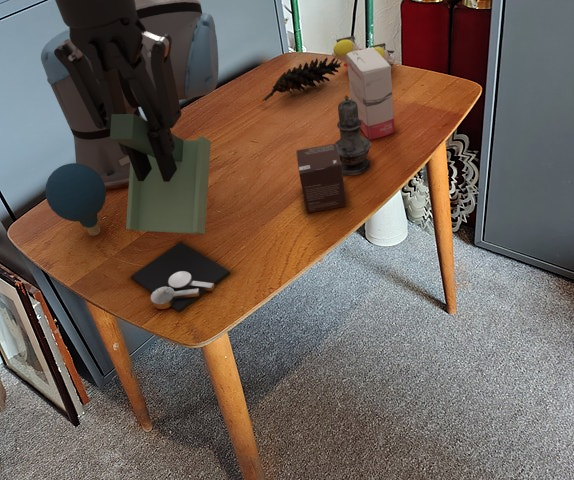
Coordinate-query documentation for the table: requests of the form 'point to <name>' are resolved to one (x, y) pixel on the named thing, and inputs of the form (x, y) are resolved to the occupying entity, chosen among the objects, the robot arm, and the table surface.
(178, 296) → the spoon
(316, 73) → the pine cone
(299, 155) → the box
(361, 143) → the salt shaker
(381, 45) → the toy figures
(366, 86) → the ink box
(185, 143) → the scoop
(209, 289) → the spoon
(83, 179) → the light bulb
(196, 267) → the mat
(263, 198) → the table surface
